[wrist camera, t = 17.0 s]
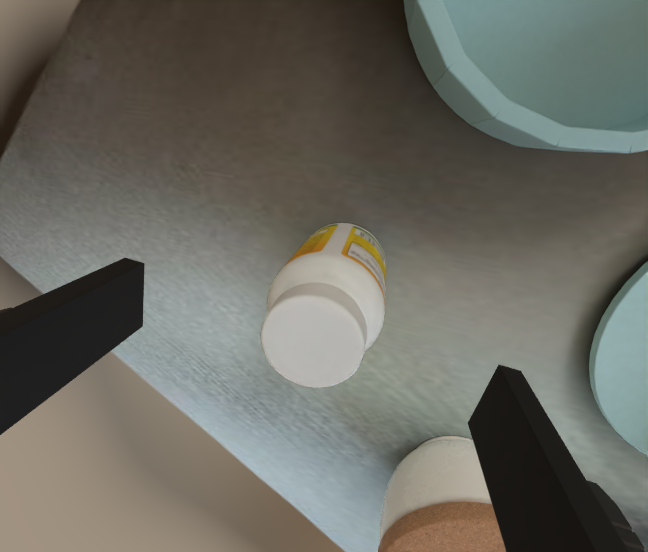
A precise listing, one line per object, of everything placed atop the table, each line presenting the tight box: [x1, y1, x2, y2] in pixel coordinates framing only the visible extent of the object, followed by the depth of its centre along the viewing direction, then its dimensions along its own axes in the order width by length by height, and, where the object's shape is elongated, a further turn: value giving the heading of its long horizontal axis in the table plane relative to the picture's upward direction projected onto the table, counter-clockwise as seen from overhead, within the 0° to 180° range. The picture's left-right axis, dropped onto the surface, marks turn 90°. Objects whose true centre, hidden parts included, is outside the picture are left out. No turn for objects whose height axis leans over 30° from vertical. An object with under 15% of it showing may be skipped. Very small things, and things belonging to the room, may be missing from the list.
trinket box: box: [378, 436, 506, 552], centre depth 22 cm, size 11×11×9 cm
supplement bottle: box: [261, 223, 386, 388], centre depth 17 cm, size 5×5×10 cm
